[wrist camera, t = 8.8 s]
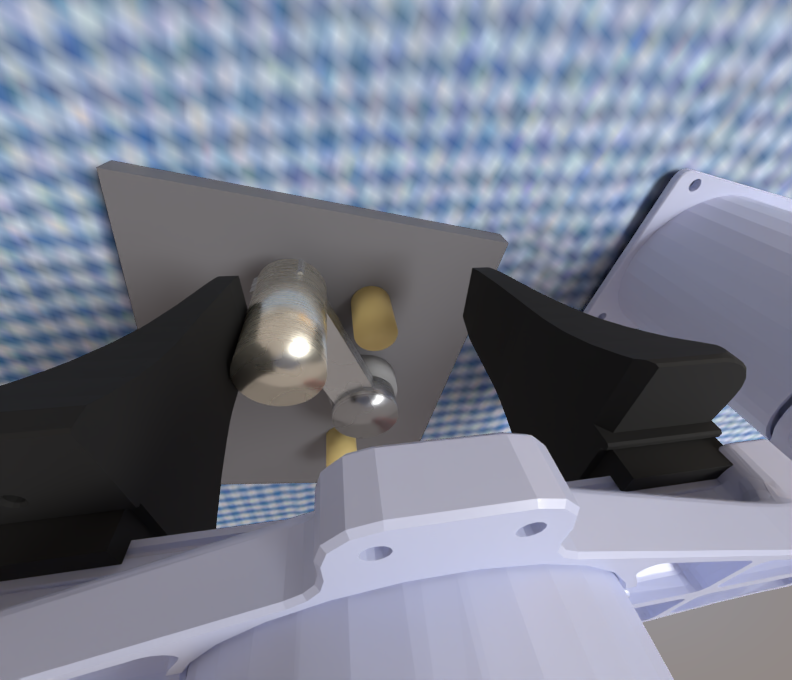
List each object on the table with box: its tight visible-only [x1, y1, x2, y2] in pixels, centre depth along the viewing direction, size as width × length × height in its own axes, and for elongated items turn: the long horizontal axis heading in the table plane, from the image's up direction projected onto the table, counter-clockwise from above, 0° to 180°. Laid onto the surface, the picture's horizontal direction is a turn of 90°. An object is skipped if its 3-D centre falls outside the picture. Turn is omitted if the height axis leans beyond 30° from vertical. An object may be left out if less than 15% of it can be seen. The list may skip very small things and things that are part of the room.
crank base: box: [97, 160, 508, 484], centre depth 18 cm, size 15×19×3 cm
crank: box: [230, 258, 398, 438], centre depth 14 cm, size 10×3×5 cm, turn 20°
